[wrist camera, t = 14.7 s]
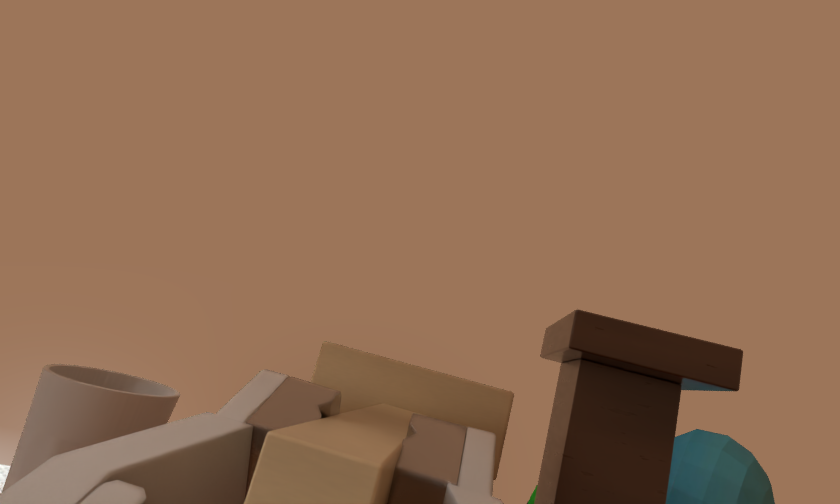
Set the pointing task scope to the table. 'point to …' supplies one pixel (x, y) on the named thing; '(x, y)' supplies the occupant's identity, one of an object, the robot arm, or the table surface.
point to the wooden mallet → (367, 429)
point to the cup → (86, 413)
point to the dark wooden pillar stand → (621, 407)
